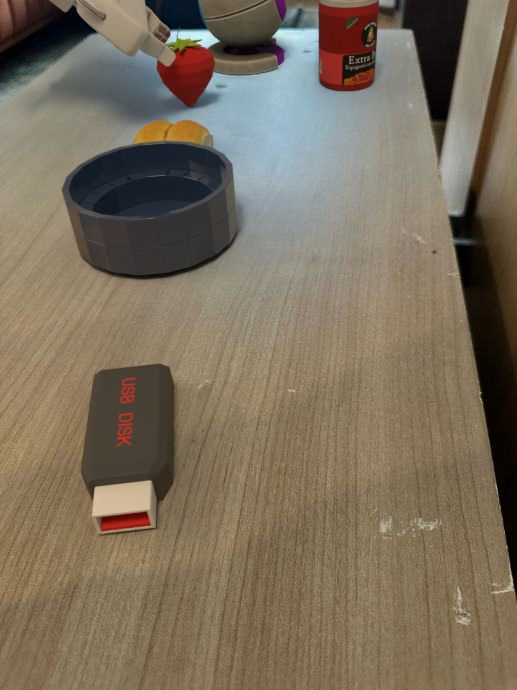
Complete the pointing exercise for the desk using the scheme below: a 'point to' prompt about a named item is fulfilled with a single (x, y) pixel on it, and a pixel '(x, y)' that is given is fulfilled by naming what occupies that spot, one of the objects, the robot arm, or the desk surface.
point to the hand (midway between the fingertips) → (170, 48)
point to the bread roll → (174, 132)
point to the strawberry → (187, 70)
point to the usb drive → (129, 446)
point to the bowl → (152, 206)
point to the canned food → (347, 43)
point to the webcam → (244, 34)
